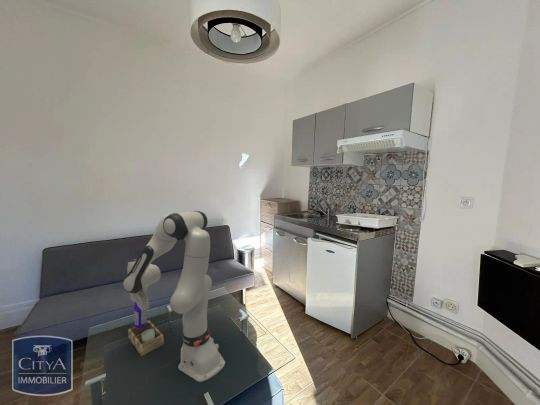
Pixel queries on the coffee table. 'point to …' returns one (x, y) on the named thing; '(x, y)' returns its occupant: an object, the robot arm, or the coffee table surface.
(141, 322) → the bottle
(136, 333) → the rack
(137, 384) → the coffee table surface
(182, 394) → the coffee table surface
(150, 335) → the pale green egg
